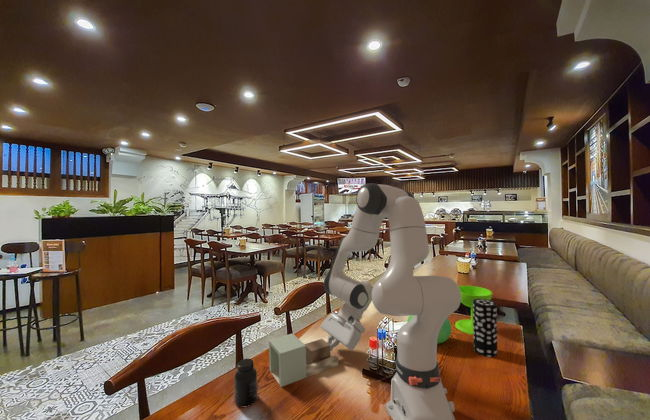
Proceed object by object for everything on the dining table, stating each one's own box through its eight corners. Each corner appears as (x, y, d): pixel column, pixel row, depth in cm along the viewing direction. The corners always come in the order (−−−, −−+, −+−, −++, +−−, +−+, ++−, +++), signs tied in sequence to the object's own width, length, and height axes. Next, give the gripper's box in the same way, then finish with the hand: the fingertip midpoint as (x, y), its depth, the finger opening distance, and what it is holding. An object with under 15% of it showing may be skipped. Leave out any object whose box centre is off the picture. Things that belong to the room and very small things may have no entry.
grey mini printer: (323, 353, 113) (323, 344, 113) (338, 366, 103) (338, 356, 103) (269, 372, 101) (269, 362, 101) (281, 388, 92) (280, 378, 91)
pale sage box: (293, 362, 106) (292, 333, 106) (306, 377, 96) (305, 345, 96) (269, 370, 101) (268, 340, 101) (281, 387, 92) (280, 353, 91)
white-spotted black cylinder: (470, 345, 116) (470, 298, 116) (492, 347, 115) (492, 299, 114) (477, 356, 108) (476, 305, 108) (501, 358, 106) (500, 306, 106)
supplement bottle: (230, 404, 85) (229, 366, 84) (244, 390, 91) (243, 354, 91) (248, 410, 82) (247, 370, 82) (261, 395, 88) (260, 358, 88)
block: (322, 356, 110) (322, 338, 110) (330, 363, 104) (330, 345, 104) (304, 362, 106) (304, 344, 105) (311, 370, 100) (311, 351, 100)
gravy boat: (408, 348, 115) (407, 313, 115) (406, 330, 131) (405, 299, 131) (455, 353, 111) (454, 316, 110) (447, 333, 127) (446, 302, 127)
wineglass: (455, 318, 143) (455, 284, 143) (491, 324, 136) (491, 287, 135) (454, 331, 129) (453, 293, 129) (494, 338, 122) (493, 298, 121)
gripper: (329, 306, 120) (310, 334, 115) (358, 322, 103) (337, 356, 98) (338, 313, 122) (319, 341, 118) (368, 331, 105) (347, 365, 100)
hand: (327, 348), depth 107 cm, fingers closed
